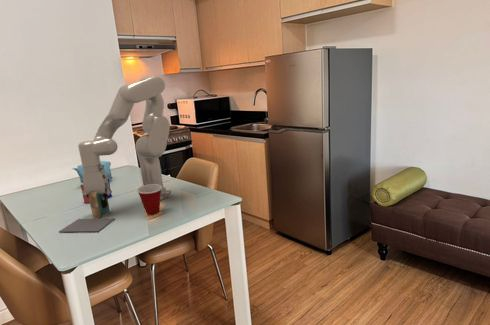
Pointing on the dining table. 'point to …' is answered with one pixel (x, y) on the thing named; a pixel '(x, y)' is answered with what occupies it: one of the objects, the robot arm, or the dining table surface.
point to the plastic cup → (150, 198)
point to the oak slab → (97, 205)
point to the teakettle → (106, 169)
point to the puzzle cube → (86, 199)
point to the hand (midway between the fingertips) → (100, 207)
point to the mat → (87, 225)
